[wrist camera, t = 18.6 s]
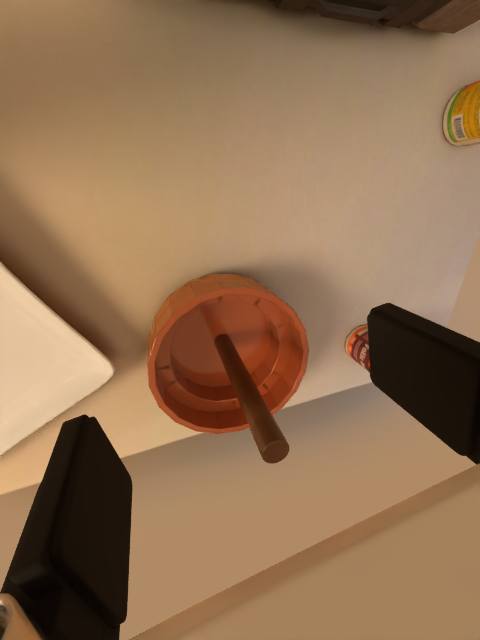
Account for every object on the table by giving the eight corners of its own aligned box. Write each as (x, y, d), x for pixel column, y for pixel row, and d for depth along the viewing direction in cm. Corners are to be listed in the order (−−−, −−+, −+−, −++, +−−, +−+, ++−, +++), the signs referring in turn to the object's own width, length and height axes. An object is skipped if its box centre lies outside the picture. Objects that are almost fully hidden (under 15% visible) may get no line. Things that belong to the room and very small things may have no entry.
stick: (216, 350, 33) (264, 467, 19) (212, 336, 32) (259, 446, 18) (231, 346, 33) (291, 457, 19) (228, 332, 33) (287, 436, 18)
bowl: (177, 416, 36) (181, 454, 30) (125, 300, 29) (118, 323, 24) (294, 370, 38) (318, 399, 32) (269, 253, 31) (294, 264, 26)
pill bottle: (342, 331, 37) (389, 365, 30) (375, 319, 38) (430, 348, 30) (345, 362, 39) (391, 401, 32) (377, 350, 40) (429, 385, 32)
